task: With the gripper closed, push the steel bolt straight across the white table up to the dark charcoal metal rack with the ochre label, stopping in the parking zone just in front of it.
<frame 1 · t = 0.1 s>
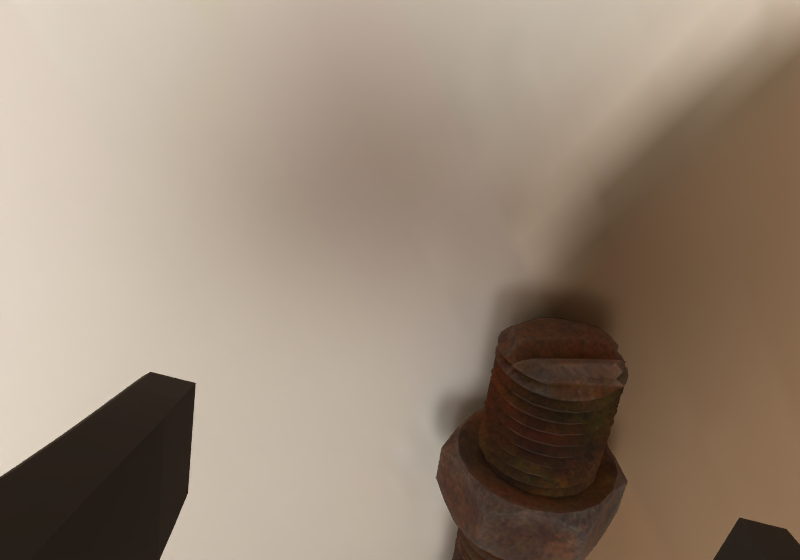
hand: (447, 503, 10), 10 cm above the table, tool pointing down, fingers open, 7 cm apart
bolt: (514, 494, 24), on the table
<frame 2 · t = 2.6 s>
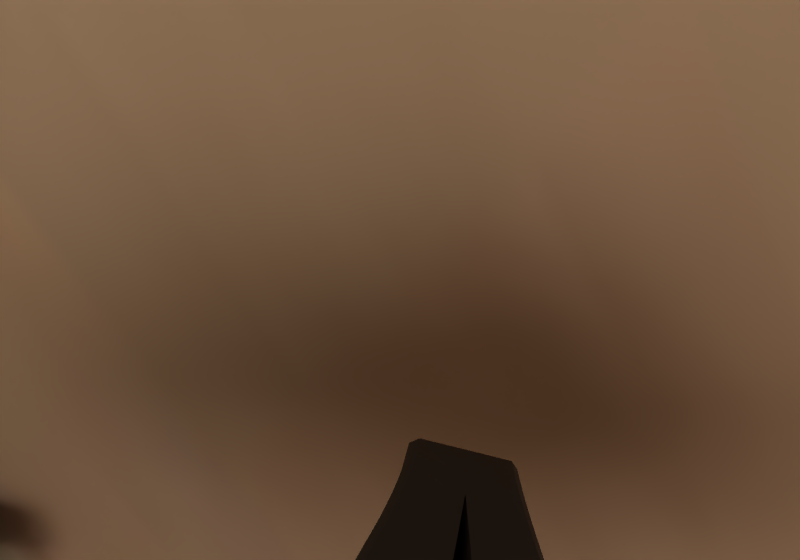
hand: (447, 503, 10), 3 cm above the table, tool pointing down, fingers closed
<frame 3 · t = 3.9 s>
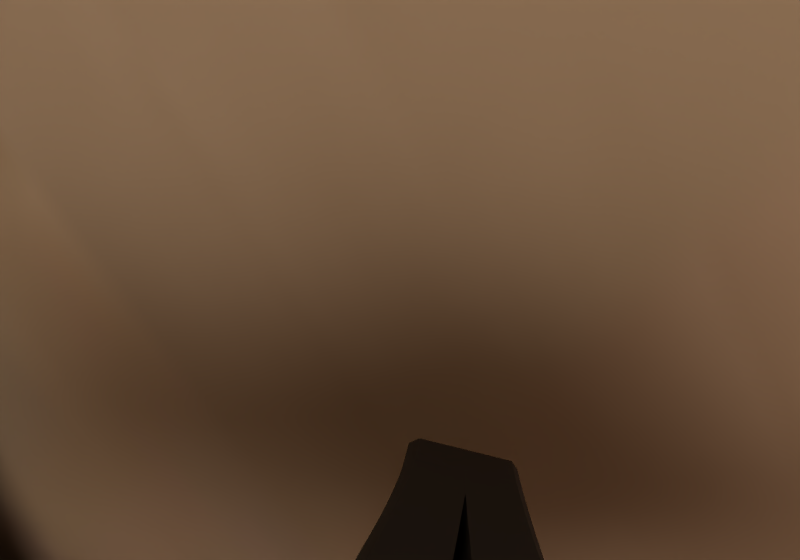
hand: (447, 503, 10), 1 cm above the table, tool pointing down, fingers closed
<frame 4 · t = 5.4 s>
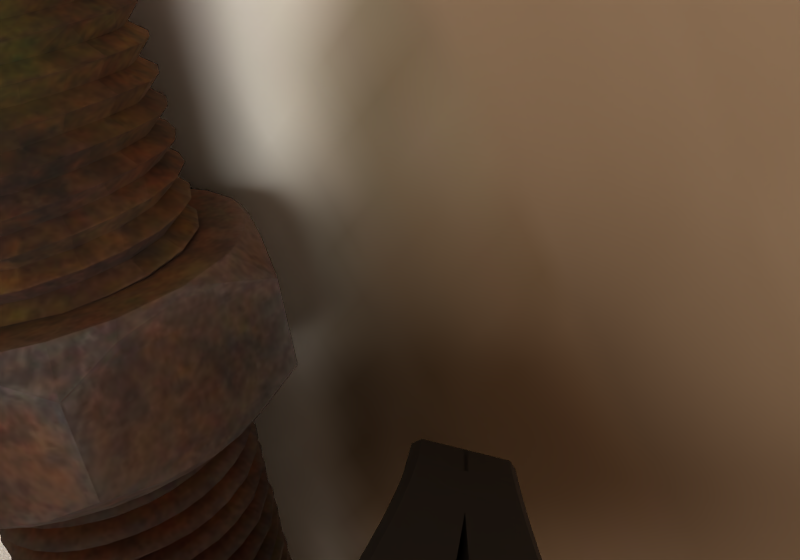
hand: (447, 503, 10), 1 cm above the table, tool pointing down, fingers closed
bolt: (227, 406, 12), on the table, touching gripper
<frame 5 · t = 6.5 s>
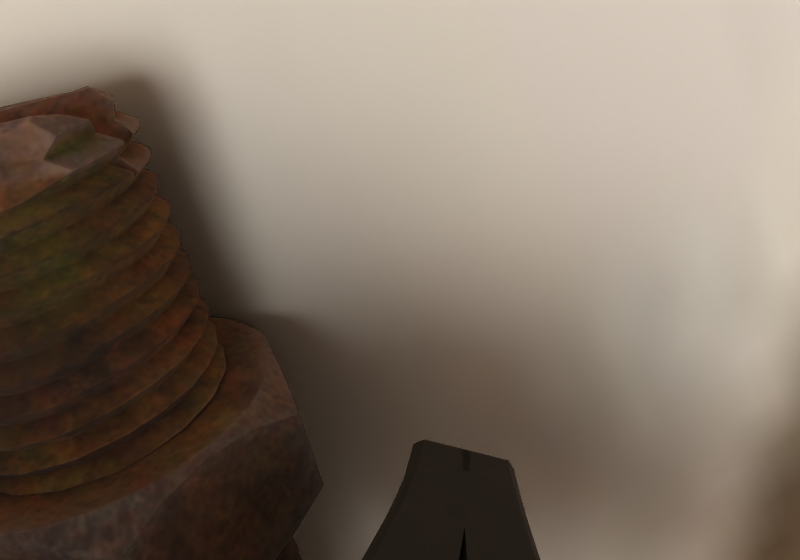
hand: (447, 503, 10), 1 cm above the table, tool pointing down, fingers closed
bolt: (264, 498, 13), on the table
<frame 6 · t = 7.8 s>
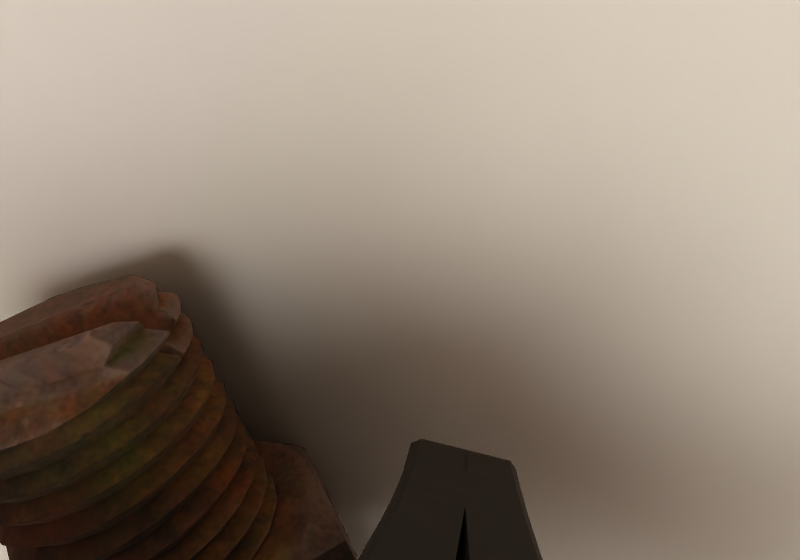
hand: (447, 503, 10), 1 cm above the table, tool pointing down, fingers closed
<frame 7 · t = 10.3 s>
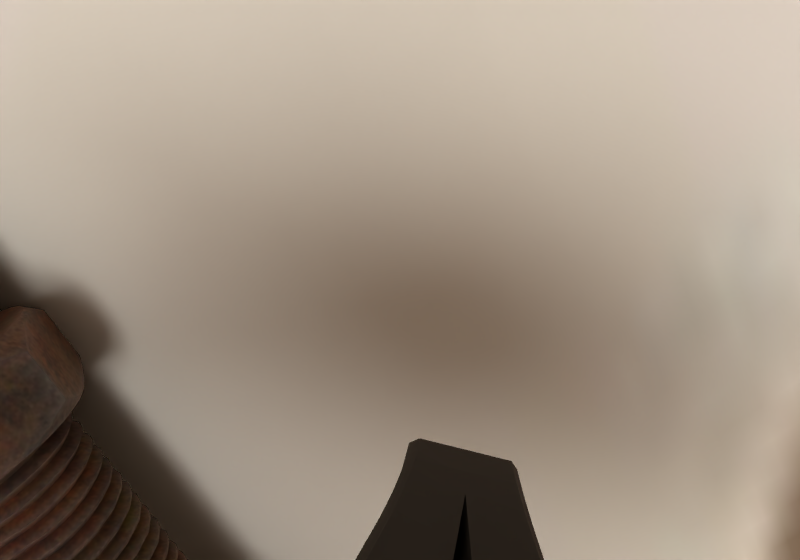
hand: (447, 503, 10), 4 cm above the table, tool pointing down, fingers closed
bolt: (114, 440, 17), on the table
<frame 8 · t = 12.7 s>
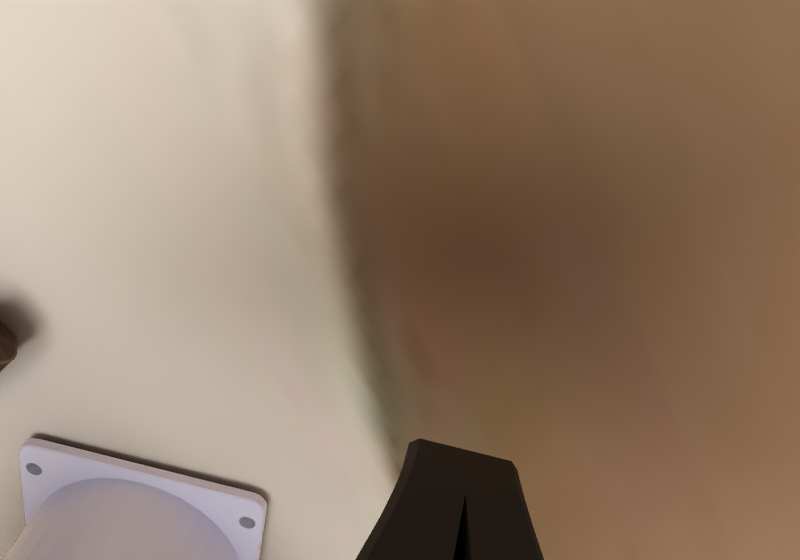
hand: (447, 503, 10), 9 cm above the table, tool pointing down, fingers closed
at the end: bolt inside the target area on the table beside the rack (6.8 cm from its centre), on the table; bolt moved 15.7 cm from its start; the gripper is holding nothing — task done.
